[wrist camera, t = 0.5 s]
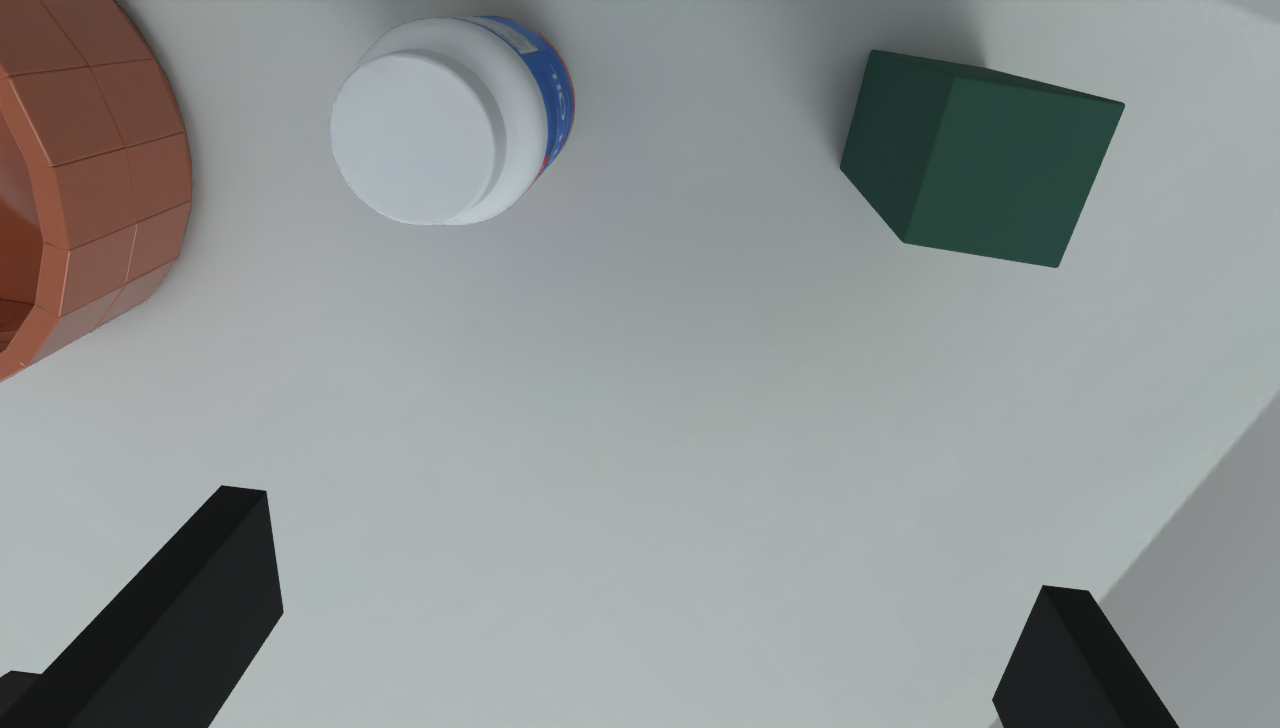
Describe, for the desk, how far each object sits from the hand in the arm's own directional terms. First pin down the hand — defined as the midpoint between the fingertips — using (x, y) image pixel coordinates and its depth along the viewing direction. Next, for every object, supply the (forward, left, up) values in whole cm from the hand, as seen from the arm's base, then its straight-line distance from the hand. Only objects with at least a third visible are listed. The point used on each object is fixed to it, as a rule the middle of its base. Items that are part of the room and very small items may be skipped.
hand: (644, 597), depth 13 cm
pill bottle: (-5, -7, -18) cm, 20 cm away
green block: (-7, +7, -18) cm, 20 cm away
